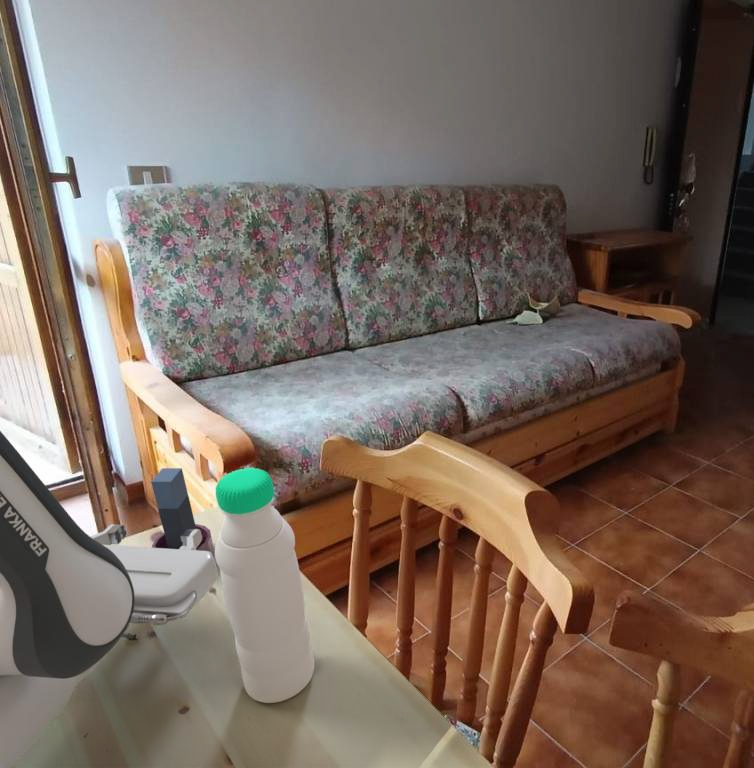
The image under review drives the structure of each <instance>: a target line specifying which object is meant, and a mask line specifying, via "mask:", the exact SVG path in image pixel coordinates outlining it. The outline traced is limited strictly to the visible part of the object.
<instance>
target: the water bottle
mask: <svg viewBox="0 0 754 768" xmlns="http://www.w3.org/2000/svg"><path fill="white" fill-rule="evenodd" d="M274 496H275V488H274V482H273V479H272V477H271V475H270V474H269V473H268V472H267V471H266V470H264V469H261V468H256V467H255V468H254V467H247V468H240V469H236V470H234V471H231V472H229V473H227V474H225V475H224V476H223V477H221V479H220V480H219V481H218V482H217V484H216V486H215V499H216V502H217V505H218V507H219V509H220V512H221V513H222V514H223V515H225V517H224V519H223V521H222V522H221V523H222V524H221V526H220V532H219V533H218V535H217V539H216V542H215V545H214V550H215V559H214V560H215V562H216V566H218V568H219V570H220V571H219V572H220V573H219V574H220V580H221V587H222V593H223V597H224V602H225V607H226V611H227V616H228V619H229V622H230V626H231V629H232V632H233V635H234V637H235V638H234V643H235V652H236V656H237V659H238V661H239V663H240V671H241V678H242V683H243V687H244V689H245V692H246V694H248V696H249V697H250V698H252V699H253V700H254V701H257V702H260V703H264V704H274V703H280V702H283V701H287V700H289V699H291V698H292V697H294V696H296V695H298V694H299V693H300V692H301V691H303V690H304V688H306V687H307V685H308V684H309V682H310V681H311V679H312V677H313V674H314V672H315V671H314V670H315V660H314V659H315V658H314V653H313V649H312V645H311V643H310V629H309V624H308V620H307V618H306V614H305V612H306V611H305V610H306V609H305V598H304V590H303V583H302V577H301V570H300V565H299V561H298V558H297V554H296V553H297V552H296V551H295V546H296V538H295V537H296V536H295V533H294V530H293V529H292V527H291V525H290V524H289V522H288V521H286V519H284V517H283V516H282V515H281V514H280V512H279V511H278V510H277V509H276V508H275V507H274V506H273V502H274V500H275V499H274Z"/></svg>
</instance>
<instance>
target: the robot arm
mask: <svg viewBox="0 0 754 768" xmlns="http://www.w3.org/2000/svg"><path fill="white" fill-rule="evenodd" d="M126 536H127V530H126V527H125V524H115V523H113V524H112V523H111V524H109V525H108V526H107V527H106V528H105V529H104V530H103V531H101V532H98V533H96V534H94V535H93V534H92V535H89V534H88V533H86V532H85V531H84V530H83V529H82V528H81V527H80V525H79V524H77V523H76V521H75V520H74V519H73V517H72V516H71V515H70V514H69V513H68V512H67V510H66V509H65V508H64V507H63V505H62V504H61V503H60V502H59V500H58V499H57V498H56V496H55V495H53V493H52V491H50V489H49V488H48V487H47V486H46V484H45V483H44V482H43V480H41V478H40V477H39V476H38V475H37V473H36V472H35V471H34V470H33V468H32V467H31V466H30V465H29V464H28V462H27V461H26V460H25V458H24V457H23V456H22V455H21V454H20V453H19V451H18V450H17V449H16V448H15V446H14V445H13V444H12V443H11V441H10V440H9V439H8V438H7V436H6V435H4V433H3V432H2V431H1V430H0V768H11V767H12V766H13V765H14V764H15V763H16V762H17V761H18V760H20V758H21V757H22V756H24V755H25V753H27V751H28V750H30V748H31V747H32V746H33V745H34V744H35V743H36V742H37V741H38V739H39V738H40V737H41V736H42V735H43V734H44V733H45V732H46V730H48V728H49V727H50V726H51V725H52V723H53V722H54V721H55V720H56V719H57V717H58V716H59V715H60V714H61V712H62V711H63V710H64V709H65V707H66V706H67V705H68V703H69V702H70V700H71V698H72V696H73V693H74V691H75V689H76V687H77V685H78V684H79V683H80V682H81V681H82V680H83V679H84V678H86V677H87V676H88V675H89V674H91V673H92V672H93V671H94V670H95V669H96V668H97V667H98V666H99V665H100V663H102V661H103V660H104V658H105V657H106V656H108V653H110V652H111V650H112V649H113V648H114V647H115V646H116V645H117V643H118V642H119V641H120V639H121V638H122V637H123V635H124V634H125V632H126V631H127V630H128V628H129V627H130V625H131V624H139V625H140V624H151V625H155V626H163V625H167V624H168V623H169V622H173V621H177V620H179V619H183V618H185V617H186V616H187V615H188V614H189V613H190V611H191V610H192V609H194V607H195V606H197V604H198V603H199V602H200V601H201V600H202V599H203V598H204V597H205V596H206V595H207V593H208V592H209V591H210V590H211V589H212V587H213V586H214V585H215V584H216V582H217V580H218V575H219V574H218V567H217V566H218V565H217V562H216V559H214V557H213V555H212V553H211V552H209V551H199V550H196V548H197V546H198V545H199V544H200V543H201V541H202V534H201V530H199V529H186V532H185V533H183V534H182V535H181V541H182V542H183V544H182V545H183V546H181V547H180V548H179V549H166V548H152V547H148V546H133V545H119V544H120V543H121V542H122V540H124V539H125V538H126Z"/></svg>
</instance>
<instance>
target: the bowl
mask: <svg viewBox="0 0 754 768" xmlns="http://www.w3.org/2000/svg"><path fill="white" fill-rule="evenodd" d="M195 526H196V529H199V530H201V534H202V541H201V543H200V547H199V548H198V549H196V550H199V551H209V552H211V553H212V555H213V557H214V560H216V559H215V545H214V541H213V537H212V532H211V530H210V528H208V527H207V526H205V525H202V524H198V523H195ZM151 548H166V549H168V545H167V541H166V538H165V534H164V532H163V533H161V534H160V535H159V536H158V537H155V540H154V541H153V542H152V545H151Z"/></svg>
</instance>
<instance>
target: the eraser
mask: <svg viewBox="0 0 754 768" xmlns="http://www.w3.org/2000/svg"><path fill="white" fill-rule="evenodd" d="M184 475H185V474H184V472H183V468H181V467H175V468H173V467H169V468H167V467H166V468H165V467H162V468H161V469H160V471H158V473H157V474H156V475H155V476H154V478H153V479H152V480H151V481H150V484H151V488H152V491H153V495H154V500H155V503H156V507H157V512H158V514H159V519H160V523H161V526H162V529H163V533H164V534H165V538H166V541H167V545H168V549H179V548H180V547H181V546H183V545H182V544H183V542H182V541H181V535H182V534H183V533H185V532H186V529H196V526H195V524H196V521H195V517H194V513H193V510H192V504H191V500H190V496H189V493H188V488H187V485H186V480H185V476H184ZM199 547H200V544H199V545H198V546H197V548H196V549H198V548H199Z"/></svg>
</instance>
